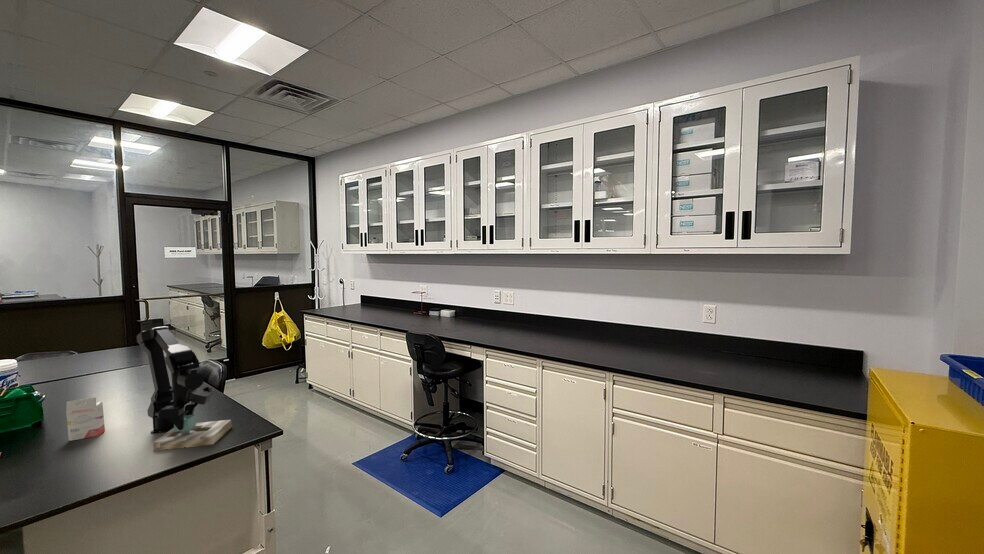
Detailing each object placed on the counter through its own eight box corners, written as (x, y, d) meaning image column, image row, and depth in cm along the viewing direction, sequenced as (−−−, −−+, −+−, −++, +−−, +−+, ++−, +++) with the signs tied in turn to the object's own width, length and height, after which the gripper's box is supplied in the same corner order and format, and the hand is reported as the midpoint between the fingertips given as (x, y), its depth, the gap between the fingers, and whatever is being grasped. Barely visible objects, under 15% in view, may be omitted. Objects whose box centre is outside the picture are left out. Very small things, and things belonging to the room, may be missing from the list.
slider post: (171, 441, 134) (169, 421, 134) (181, 433, 140) (180, 415, 140) (190, 439, 135) (189, 420, 135) (199, 431, 141) (198, 413, 141)
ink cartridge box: (105, 430, 147) (102, 393, 146) (99, 435, 142) (96, 397, 141) (74, 435, 143) (71, 397, 142) (67, 441, 138) (64, 401, 137)
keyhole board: (153, 451, 130) (153, 442, 130) (178, 432, 143) (177, 424, 143) (213, 444, 133) (212, 435, 133) (231, 427, 147) (231, 419, 147)
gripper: (193, 391, 129) (195, 436, 130) (220, 375, 148) (222, 414, 148) (155, 394, 127) (158, 439, 128) (187, 377, 145) (189, 417, 146)
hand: (184, 426), depth 138 cm, fingers closed on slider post, 4 cm apart
